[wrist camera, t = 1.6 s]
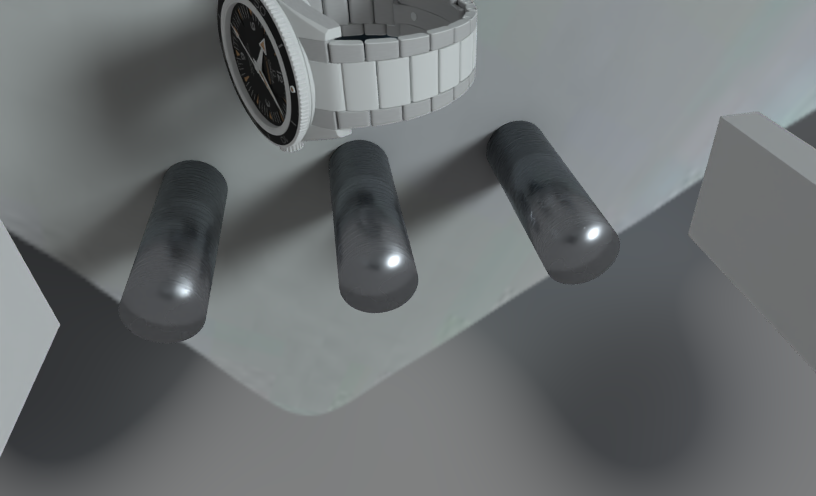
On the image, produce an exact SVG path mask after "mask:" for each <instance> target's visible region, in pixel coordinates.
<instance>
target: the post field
mask: <svg viewBox="0 0 816 496" xmlns="http://www.w3.org/2000/svg"><path fill="white" fill-rule="evenodd" d="M487 159H488V162H489V163H490V165H491V167H492V169H493V171H494V173H495V175H496V177H497V178H498V180H499V182H500V184H501V186H502V188H503V190H504V192H505V193H506V195H507V197H508V199H509V201H510V203H511V205H512V207H513V208H514V210H515V212H516V214H517V216H518V218H519V220H520V222H521V224H522V225H523V227H524V229H525V231H526V233H527V235H528V237H529V239H530V240H531V242H532V244H533V246H534V248H535V250H536V252H537V254H538V255H539V257H540V259H541V261H542V263H543V265H544V267H545V269H546V270H547V272H548V274H549V275H550V277H551V278H553V279H554V280H556V281H557V282H560V283H563V284H580V283H585V282H588V281H590V280H592V279H595V278H597V277H598V276H600V275H601V274H603V273H604V272H605V271H606V270H607V269H608V268H609V267H610V266H611V265H612V264H613V262H614V261H615V259H616V257H617V255H618V252H619V248H620V241H619V238H618V235H617V234H616V232H615V231H614V229H613V228H612V227H611V225H610V224H609V223H608V221H607V220H606V219H605V217H604V216H603V215H602V213H601V212H600V210H599V209H598V208H597V206H596V205H595V204H594V202H593V201H592V200H591V198H590V197H589V196H588V194H587V193H586V191H585V190H584V189H583V187H582V186H581V185H580V183H579V182H578V181H577V179H576V178H575V177H574V175H573V174H572V173H571V171H570V170H569V168H568V167H567V166H566V164H565V163H564V162H563V160H562V159H561V158H560V156H559V155H558V154H557V152H556V151H555V150H554V148H553V147H552V145H551V144H550V143H549V141H548V140H547V139H546V137H545V136H544V135H543V133H542V132H541V131H540V129H539V128H538V127H537V126H536V125H534V124H532V123H530V122H527V121H514V122H510V123H508V124H505V125H504V126H502V127H501V128H499V129H498V130H497V131H496V132H495V133H494V134H493V135H492V137H491V138H490V140H489V143H488V146H487ZM329 177H330V188H331V199H332V211H333V222H334V233H335V244H336V255H337V266H338V278H339V289H340V293H341V295H342V297H343V299H344V300H345V301H346V302H347V303H348V304H349V305H350V306H352V307H353V308H355V309H357V310H360V311H363V312H368V313H382V312H387V311H390V310H393V309H396V308H398V307H400V306H401V305H403V304H404V303H406V302H407V301H408V300H409V299H410V298H411V297H412V295H413V294H414V292H415V291H416V288H417V285H418V274H417V270H416V266H415V262H414V258H413V255H412V251H411V247H410V243H409V239H408V235H407V231H406V227H405V223H404V219H403V216H402V212H401V208H400V204H399V200H398V196H397V192H396V188H395V184H394V181H393V177H392V173H391V169H390V165H389V161H388V158H387V155H386V154H385V152H384V151H383V150H382V149H381V148H380V147H379V146H378V145H376V144H374V143H372V142H369V141H365V140H355V141H350V142H347V143H345V144H343V145H342V146H340V147H339V148H338V149H337V150H336V151H335V152H334V153H333V155H332V156H331V159H330V162H329ZM227 192H228V188H227V183H226V180H225V179H224V177H223V175H222V174H221V173H220V172H219V171H218V170H217V169H216V168H214V167H213V166H211V165H209V164H207V163H204V162H201V161H193V160H190V161H183V162H179V163H177V164H175V165H173V166H172V167H171V168H169V169H168V171H167V172H166V174H165V176H164V178H163V181H162V184H161V187H160V190H159V192H158V195H157V198H156V201H155V204H154V207H153V210H152V212H151V215H150V218H149V221H148V224H147V227H146V230H145V233H144V235H143V238H142V241H141V244H140V247H139V250H138V253H137V255H136V258H135V261H134V264H133V267H132V270H131V273H130V276H129V278H128V281H127V284H126V287H125V290H124V293H123V296H122V299H121V301H120V304H119V315H120V319H121V321H122V322H123V324H124V325H125V326H126V328H127V329H128V330H129V331H131V332H132V333H133V334H135V335H137V336H138V337H141V338H143V339H146V340H148V341H152V342H158V343H175V342H180V341H184V340H186V339H189V338H191V337H193V336H194V335H196V334H197V333H198V332H199V331H200V330H201V329H202V327H203V325H204V323H205V320H206V314H207V308H208V303H209V297H210V291H211V285H212V279H213V274H214V268H215V262H216V256H217V251H218V245H219V239H220V233H221V227H222V222H223V216H224V210H225V204H226V199H227Z"/></svg>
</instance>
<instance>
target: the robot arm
mask: <svg viewBox="0 0 816 496" xmlns="http://www.w3.org/2000/svg"><path fill="white" fill-rule="evenodd" d="M688 235H689V236H690V237H691V238H692V240H693V241H694V242H695V243H696V244H697V245H698V246H699V247H700V248H701V249H702V250H703V251H704V253H705V254H707V256H708V257H709V258H710V259H711V260H712V261H713V262H714V263H715V264H716V265H717V267H718V268H719V269H720V270H721V271H722V272H723V273H724V274H725V275H726V276H727V277H728V278H729V280H730V281H731V282H732V283H733V284H734V285H735V286H736V287H737V288H738V289H739V290H740V291H741V292H742V294H743V295H744V296H745V297H746V298H747V299H748V300H749V301H750V302H751V303H752V304H753V305H754V307H755V308H756V309H757V310H758V311H759V312H760V313H761V314H762V315H763V316H764V317H765V318H766V320H768V322H769V323H770V324H771V325H772V326H773V327H774V328H775V329H776V330H777V331H778V333H780V335H781V336H782V337H783V338H784V339H785V340H786V341H787V342H788V343H789V344H790V346H791V347H792V348H793V349H794V350H795V351H796V352H797V353H798V354H799V355H800V356H801V357H802V358H803V360H804V361H805V362H806V363H807V364H808V365H809V366H810V367H811V368H812V369H813V370H814V371H815V372H816V149H815V148H813V147H812V146H810V145H809V144H807V143H806V142H804V141H803V140H801V139H800V138H798V137H796V136H795V135H793V134H792V133H790V132H789V131H787V130H786V129H784V128H783V127H781V126H780V125H778V124H777V123H775V122H773V121H772V120H770V119H769V118H767V117H766V116H764V115H763V114H761V113H760V112H751V113H743V114H736V115H728V116H720V120H719V124H718V127H717V131H716V135H715V138H714V142H713V145H712V149H711V153H710V156H709V160H708V164H707V167H706V171H705V175H704V178H703V182H702V185H701V189H700V193H699V196H698V200H697V204H696V208H695V211H694V215H693V218H692V222H691V226H690V229H689V233H688ZM59 326H60V324H59V322H58V320H57V318H56V317H55V315H54V313H53V311H52V309H51V308H50V306H49V305H48V303H47V301H46V299H45V297H44V295H43V293H42V292H41V290H40V288H39V286H38V285H37V283H36V281H35V279H34V278H33V276H32V274H31V272H30V271H29V269H28V267H27V265H26V263H25V262H24V260H23V258H22V256H21V254H20V253H19V251H18V249H17V247H16V246H15V244H14V242H13V240H12V239H11V237H10V235H9V233H8V231H7V230H6V228H5V226H4V224H3V223H2V221H1V219H0V456H1V454H2V451H3V449H4V447H5V445H6V443H7V440H8V438H9V436H10V434H11V432H12V429H13V427H14V425H15V423H16V421H17V418H18V416H19V414H20V412H21V410H22V407H23V405H24V403H25V401H26V399H27V396H28V394H29V392H30V390H31V387H32V385H33V383H34V381H35V379H36V377H37V374H38V372H39V370H40V368H41V365H42V363H43V361H44V359H45V357H46V354H47V352H48V350H49V348H50V346H51V343H52V341H53V339H54V336H55V334H56V332H57V330H58V328H59Z"/></svg>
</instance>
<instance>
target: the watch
mask: <svg viewBox="0 0 816 496" xmlns="http://www.w3.org/2000/svg"><path fill="white" fill-rule="evenodd" d="M217 21H218V30H219V37H220V42H221V47H222V51H223V55H224V59H225V62H226V66H227V69H228V72H229V75H230V77H231V80H232V83H233V85H234V88H235V90H236V92H237V94H238V96H239V98H240V101H241V102H242V104H243V106H244V108H245V110H246V112H247V113H248V115H249V116H250V118H251V120H252V121H253V122H254V124H255V125H256V127H257V128H258V129H259V130H260V132H261V133H262V134H263V135H264V136H265V137H266V138H267V139H268V140H269V141H270V142H272V143H273V144H275V145H277V146H279V147H280V149H281V150H282V151H284V152H285V151H286V152H295V151H298V150H300V149H301V148H303V146H304V144H303V141H312V140H326V139H335V138H342V137H345V136H347V135H350V134H352V131H351V128H361V127H368V126H370V114H369V110H370V113H371V125H372V126H380V125H386V124H392V123H396V122H400V121H402V119H403V120H404V121H407V120H411V119H414V118H417V117H420V116H423V115H426V114H429V113H430V112H435V111H437V110H439V109H442V108H444V107H445V106H447V105H449V104H451V103H452V102H453V100H456V99H458V98H459V97H460V96H462V95H463V94H464V93H465V92H466V91H467V90H468V88H469V87H471V85H472V84H473V82H474V79H475V71H476V43H477V7H476V5H474V3H473V0H218V2H217ZM377 82H378V89H377ZM378 95H379V102H378Z"/></svg>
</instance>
